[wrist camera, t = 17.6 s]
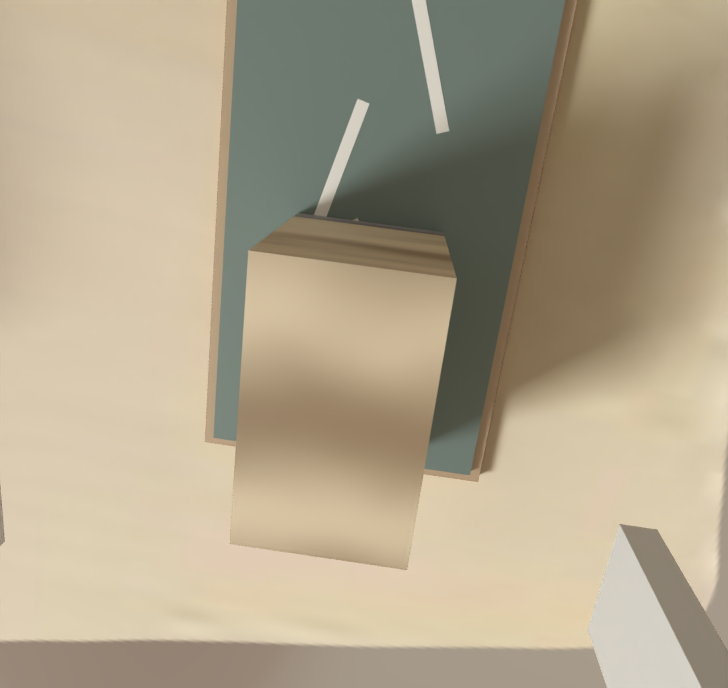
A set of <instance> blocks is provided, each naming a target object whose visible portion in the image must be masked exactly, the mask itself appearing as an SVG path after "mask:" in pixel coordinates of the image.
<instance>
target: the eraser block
mask: <svg viewBox="0 0 728 688" xmlns="http://www.w3.org/2000/svg"><path fill="white" fill-rule="evenodd" d="M456 281H457V277H456V274H455V270H454V267H453V264H452V260H451V257H450V253H449V250H448V246H447V243H446V239H445V236H444V233H443V232H438V231H430V230H423V229H415V228H407V227H400V226H392V225H385V224H377V223H370V222H362V221H355V220H347V219H339V218H332V217H324V216H317V215H309V214H302V213H297V214H296V215H295V216H293V217H292V218H291V219H289V220H288V221H287V222H285V223H284V224H283V225H281V226H280V227H279V228H277V229H276V230H275V231H273V232H272V233H271V234H269V235H268V236H267V237H266V238H264V239H263V240H262V241H260V242H259V243H258V244H256V245H255V246H254V247H252V248H251V249H250V250H248V263H247V279H246V295H245V311H244V326H243V342H242V358H241V374H240V390H239V405H238V421H237V437H236V453H235V468H234V484H233V500H232V516H231V532H230V544H234V545H241V546H248V547H254V548H261V549H268V550H275V551H282V552H288V553H295V554H302V555H309V556H315V557H322V558H329V559H336V560H343V561H349V562H356V563H363V564H370V565H377V566H383V567H390V568H397V569H404V570H407V567H408V561H409V555H410V549H411V544H412V538H413V532H414V526H415V520H416V514H417V509H418V503H419V497H420V491H421V485H422V479H423V473H424V468H425V462H426V456H427V450H428V444H429V438H430V433H431V427H432V421H433V415H434V409H435V403H436V397H437V392H438V386H439V380H440V374H441V368H442V362H443V357H444V351H445V345H446V339H447V333H448V327H449V321H450V316H451V310H452V304H453V298H454V292H455V286H456Z"/></svg>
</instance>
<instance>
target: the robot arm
mask: <svg viewBox="0 0 728 688" xmlns="http://www.w3.org/2000/svg"><path fill="white" fill-rule="evenodd" d="M4 541H5V538H4V525H3V513H2V500H1V487H0V546H1V545H2V543H3V542H4ZM588 632H589V635H590V638H591V641H592V644H593V647H594V650H595V652H596V656H597V659H598V662H599V665H600V668H601V671H602V674H603V677H604V680H605V683H606V686H607V688H728V650H727V648H726V647H725V645H724V643H723V642H722V640H721V638H720V637H719V635H718V633H717V631H716V630H715V628H714V626H713V625H712V623H711V621H710V619H709V618H708V616H707V614H706V613H705V611H704V609H703V607H702V606H701V604H700V602H699V601H698V599H697V597H696V595H695V594H694V592H693V590H692V589H691V587H690V585H689V583H688V582H687V580H686V578H685V577H684V575H683V573H682V571H681V570H680V568H679V566H678V565H677V563H676V561H675V559H674V558H673V556H672V554H671V553H670V551H669V549H668V547H667V546H666V544H665V542H664V541H663V539H662V537H661V535H660V534H659V532H658V530H656V529H649V528H642V527H636V526H629V525H622V524H620V525H619V528H618V531H617V535H616V538H615V541H614V544H613V548H612V551H611V554H610V558H609V561H608V564H607V568H606V571H605V574H604V577H603V581H602V584H601V587H600V591H599V594H598V597H597V600H596V604H595V607H594V610H593V614H592V617H591V620H590V624H589V627H588Z"/></svg>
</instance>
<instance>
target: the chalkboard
mask: <svg viewBox="0 0 728 688" xmlns="http://www.w3.org/2000/svg"><path fill="white" fill-rule="evenodd" d="M576 4H577V0H227V12H226V31H225V51H224V71H223V91H222V111H221V131H220V151H219V171H218V191H217V211H216V231H215V251H214V271H213V291H212V311H211V331H210V351H209V371H208V391H207V411H206V431H205V442H209V443H215V444H222V445H229V446H236V437H237V421H238V405H239V390H240V374H241V358H242V342H243V326H244V311H245V295H246V279H247V263H248V250H250V249H251V248H252V247H254V246H255V245H256V244H258V243H259V242H260V241H262V240H263V239H264V238H266V237H267V236H268V235H269V234H271V233H272V232H273V231H275V230H276V229H277V228H279V227H280V226H281V225H283V224H284V223H285V222H287V221H288V220H289V219H291V218H292V217H293V216H295V215H296V214H297V213H302V214H309V215H317V216H324V217H332V218H339V219H347V220H355V221H362V222H370V223H377V224H385V225H392V226H400V227H407V228H415V229H423V230H430V231H438V232H443V233H444V236H445V239H446V243H447V246H448V250H449V253H450V257H451V260H452V264H453V267H454V270H455V274H456V277H457V281H456V286H455V292H454V298H453V304H452V310H451V316H450V321H449V327H448V333H447V339H446V345H445V351H444V357H443V362H442V368H441V374H440V380H439V386H438V392H437V397H436V403H435V409H434V415H433V421H432V427H431V433H430V438H429V444H428V450H427V456H426V462H425V468H424V473H423V474H427V475H434V476H440V477H447V478H454V479H461V480H468V481H475V482H478V480H479V475H480V470H481V465H482V461H483V456H484V451H485V446H486V441H487V436H488V431H489V427H490V422H491V417H492V412H493V407H494V402H495V397H496V393H497V388H498V383H499V378H500V373H501V368H502V363H503V359H504V354H505V349H506V344H507V339H508V334H509V329H510V325H511V320H512V315H513V310H514V305H515V300H516V295H517V291H518V286H519V281H520V276H521V271H522V266H523V261H524V257H525V252H526V247H527V242H528V237H529V232H530V227H531V223H532V218H533V213H534V208H535V203H536V198H537V193H538V189H539V184H540V179H541V174H542V169H543V164H544V159H545V155H546V150H547V145H548V140H549V135H550V130H551V125H552V121H553V116H554V111H555V106H556V101H557V96H558V91H559V87H560V82H561V77H562V72H563V67H564V62H565V57H566V53H567V48H568V43H569V38H570V33H571V28H572V23H573V19H574V14H575V9H576Z"/></svg>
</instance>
